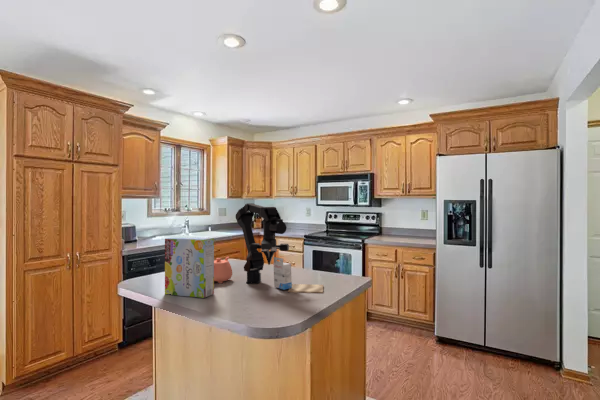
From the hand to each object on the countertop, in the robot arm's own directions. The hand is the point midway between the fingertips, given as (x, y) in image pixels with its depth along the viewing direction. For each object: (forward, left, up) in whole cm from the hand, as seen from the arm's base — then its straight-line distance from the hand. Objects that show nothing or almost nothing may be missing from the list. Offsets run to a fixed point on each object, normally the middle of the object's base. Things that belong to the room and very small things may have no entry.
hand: (269, 264), depth 163 cm
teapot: (-29, +13, -12) cm, 34 cm away
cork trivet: (+18, 0, -11) cm, 21 cm away
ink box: (+7, 0, -11) cm, 13 cm away
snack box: (-34, -13, -12) cm, 39 cm away
